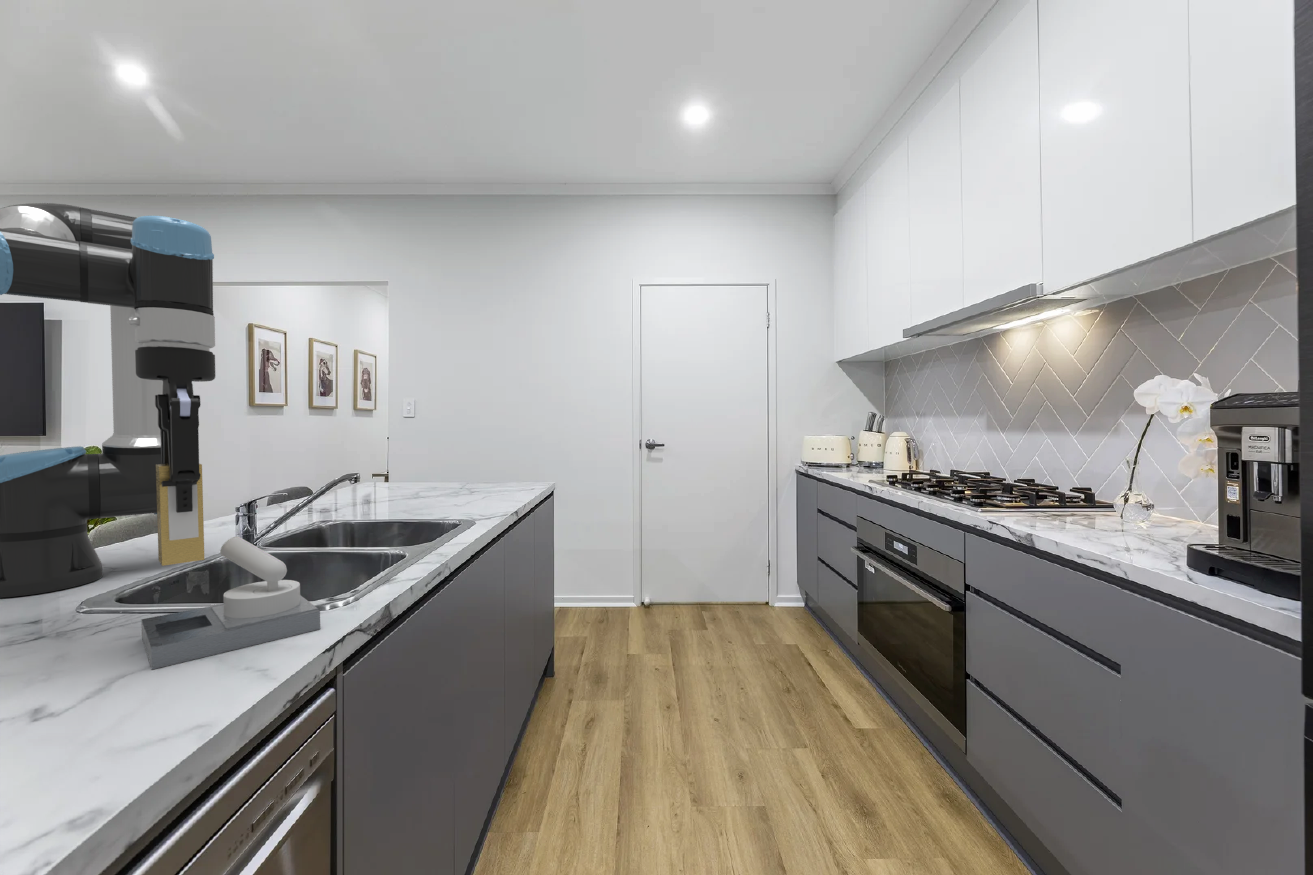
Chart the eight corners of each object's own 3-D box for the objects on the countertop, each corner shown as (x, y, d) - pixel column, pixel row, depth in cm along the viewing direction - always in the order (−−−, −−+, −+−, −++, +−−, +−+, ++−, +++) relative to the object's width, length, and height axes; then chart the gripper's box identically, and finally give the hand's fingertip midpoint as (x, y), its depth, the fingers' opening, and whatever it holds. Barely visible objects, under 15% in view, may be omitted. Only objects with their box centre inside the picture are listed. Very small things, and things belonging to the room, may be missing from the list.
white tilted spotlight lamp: (254, 530, 82) (313, 533, 80) (256, 594, 82) (314, 599, 80) (196, 543, 73) (260, 546, 72) (198, 614, 74) (262, 620, 72)
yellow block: (158, 560, 70) (155, 464, 70) (199, 554, 73) (196, 462, 72) (162, 565, 67) (159, 466, 67) (204, 559, 70) (201, 464, 70)
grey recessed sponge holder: (141, 638, 72) (141, 618, 72) (293, 606, 85) (293, 589, 85) (151, 669, 63) (151, 646, 63) (320, 629, 76) (319, 610, 76)
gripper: (129, 351, 72) (135, 530, 73) (141, 337, 61) (147, 551, 61) (203, 356, 78) (207, 523, 79) (227, 344, 66) (231, 540, 67)
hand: (181, 535), depth 70 cm, fingers closed on yellow block, 4 cm apart
